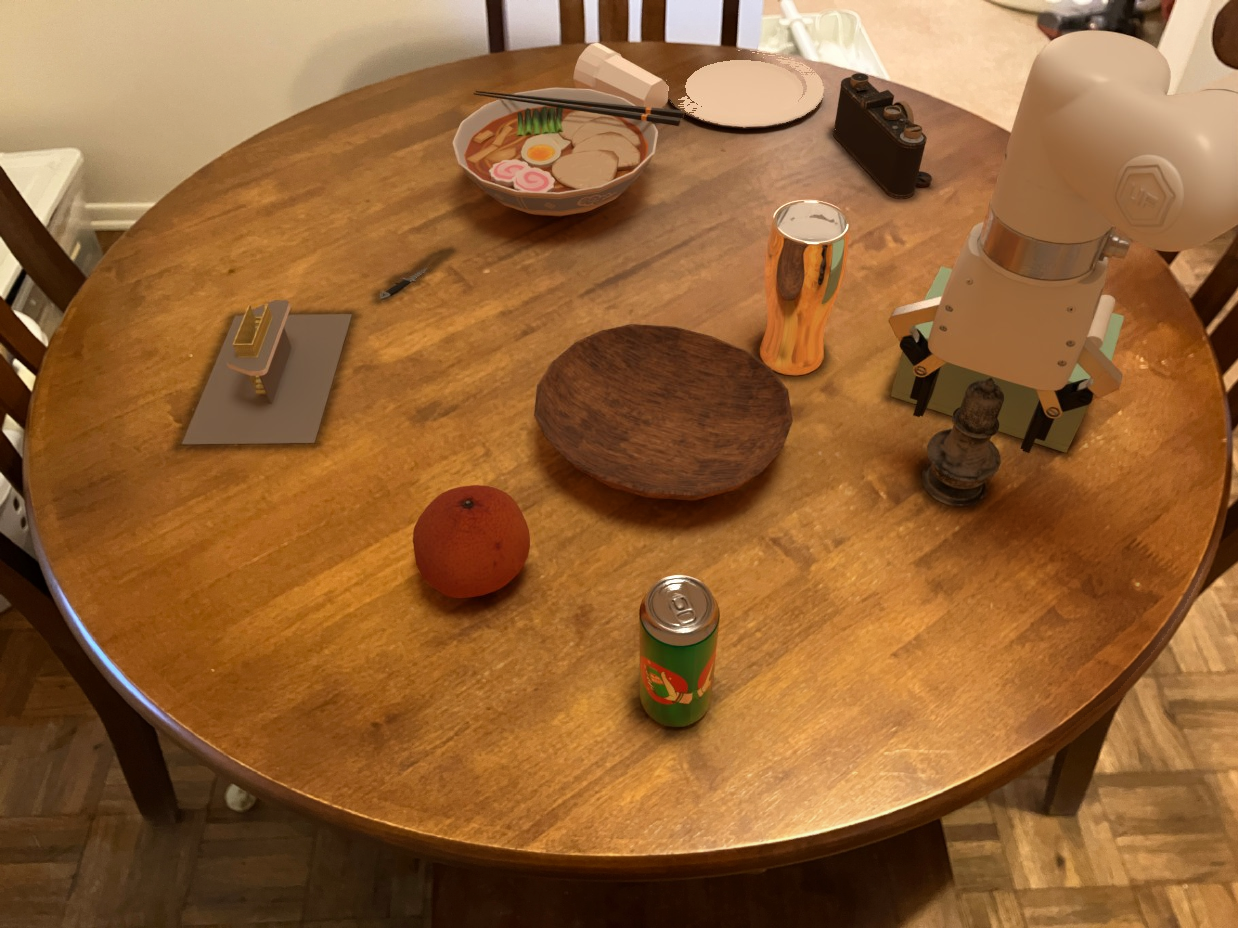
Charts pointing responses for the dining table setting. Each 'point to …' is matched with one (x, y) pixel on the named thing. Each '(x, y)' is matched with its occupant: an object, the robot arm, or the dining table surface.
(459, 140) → the ramen bowl
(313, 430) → the platform
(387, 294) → the knife
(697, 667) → the soda can
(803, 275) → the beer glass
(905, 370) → the box
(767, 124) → the plate
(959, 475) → the chess piece
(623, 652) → the dining table surface
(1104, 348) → the lunchbox lid
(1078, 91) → the robot arm
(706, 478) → the bowl
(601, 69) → the cup
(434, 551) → the fruit
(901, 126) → the camera
